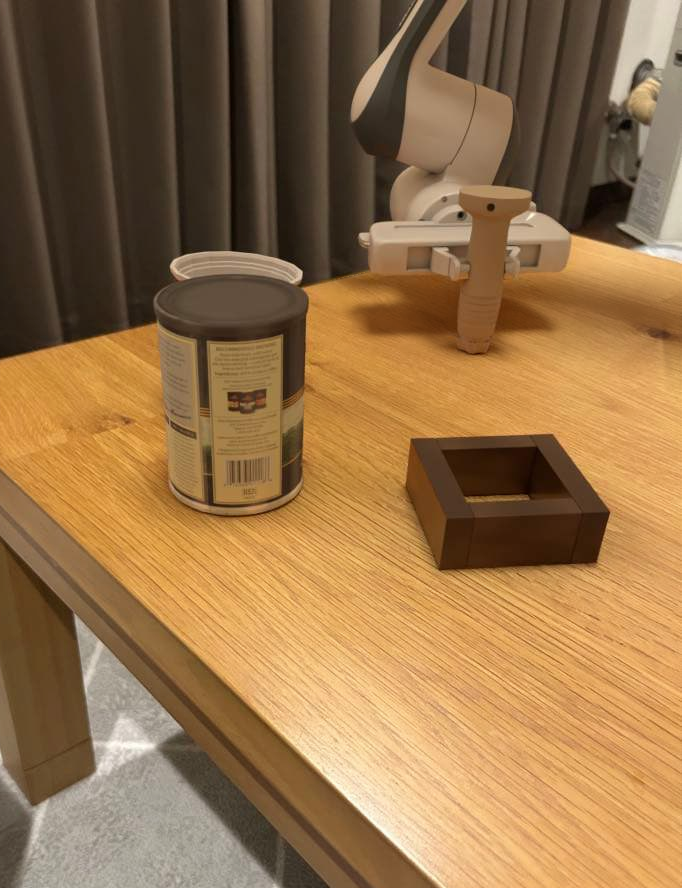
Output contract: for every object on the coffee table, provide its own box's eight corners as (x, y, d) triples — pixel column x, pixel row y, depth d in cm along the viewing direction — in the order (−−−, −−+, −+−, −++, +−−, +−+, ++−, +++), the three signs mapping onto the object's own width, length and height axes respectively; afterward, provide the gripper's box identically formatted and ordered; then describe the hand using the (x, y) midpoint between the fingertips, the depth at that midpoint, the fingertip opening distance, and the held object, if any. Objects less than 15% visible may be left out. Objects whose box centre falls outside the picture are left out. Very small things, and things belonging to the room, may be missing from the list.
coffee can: (248, 435, 71) (246, 263, 63) (331, 486, 65) (341, 301, 57) (140, 473, 66) (123, 291, 58) (219, 533, 59) (212, 337, 51)
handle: (502, 362, 84) (529, 201, 76) (436, 353, 86) (455, 194, 77) (507, 344, 88) (534, 189, 79) (445, 336, 90) (463, 183, 81)
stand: (542, 480, 66) (552, 433, 63) (596, 562, 57) (610, 511, 55) (405, 485, 65) (410, 438, 63) (439, 569, 56) (446, 518, 54)
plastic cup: (323, 409, 75) (329, 272, 68) (212, 438, 71) (207, 294, 64) (261, 365, 83) (261, 238, 76) (158, 389, 78) (148, 255, 72)
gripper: (356, 202, 90) (381, 239, 79) (547, 199, 92) (597, 236, 81) (353, 263, 94) (376, 307, 83) (536, 259, 95) (583, 302, 84)
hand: (487, 272), depth 82 cm, fingers closed on handle, 3 cm apart
